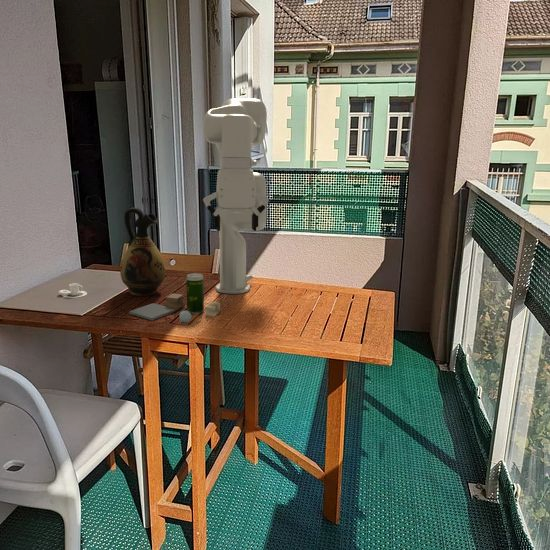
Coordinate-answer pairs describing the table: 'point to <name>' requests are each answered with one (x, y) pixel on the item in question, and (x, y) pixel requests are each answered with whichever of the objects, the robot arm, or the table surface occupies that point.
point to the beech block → (212, 309)
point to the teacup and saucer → (72, 291)
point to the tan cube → (175, 301)
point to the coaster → (152, 311)
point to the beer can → (195, 293)
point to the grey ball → (185, 316)
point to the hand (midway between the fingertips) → (236, 230)
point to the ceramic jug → (141, 257)
